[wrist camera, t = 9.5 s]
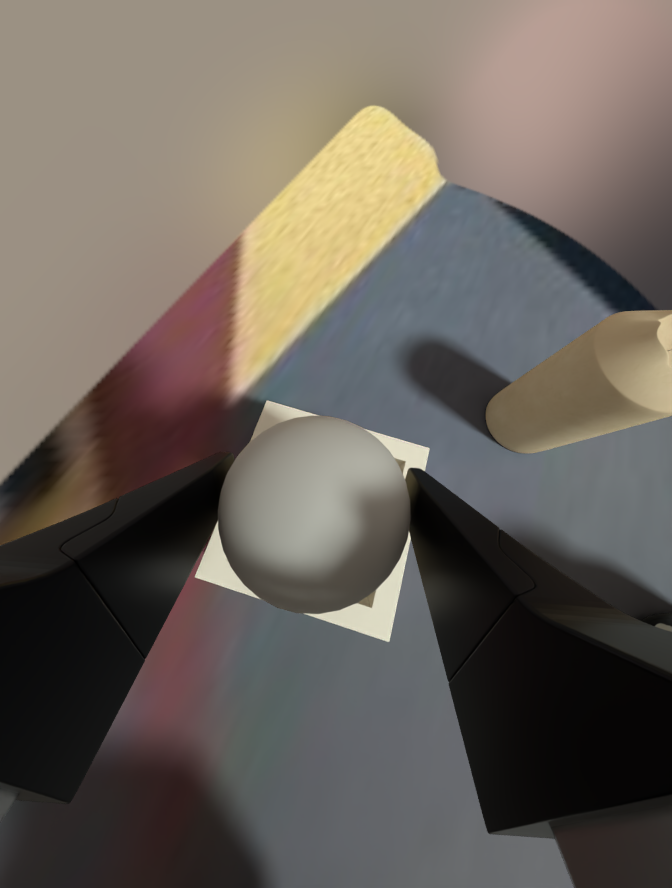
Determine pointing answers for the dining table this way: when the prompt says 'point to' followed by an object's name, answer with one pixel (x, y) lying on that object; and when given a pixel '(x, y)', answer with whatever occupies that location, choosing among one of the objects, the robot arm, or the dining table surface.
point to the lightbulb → (314, 514)
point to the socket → (378, 606)
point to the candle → (590, 386)
